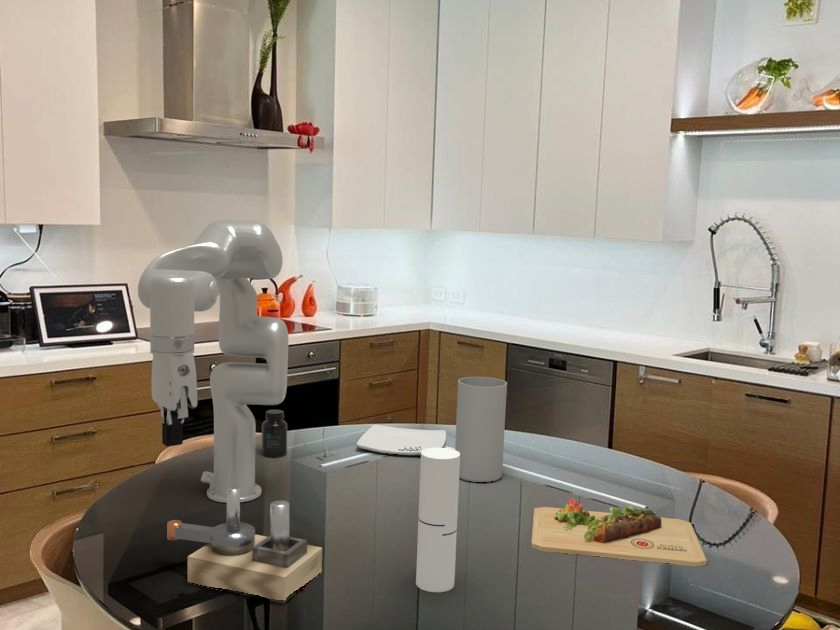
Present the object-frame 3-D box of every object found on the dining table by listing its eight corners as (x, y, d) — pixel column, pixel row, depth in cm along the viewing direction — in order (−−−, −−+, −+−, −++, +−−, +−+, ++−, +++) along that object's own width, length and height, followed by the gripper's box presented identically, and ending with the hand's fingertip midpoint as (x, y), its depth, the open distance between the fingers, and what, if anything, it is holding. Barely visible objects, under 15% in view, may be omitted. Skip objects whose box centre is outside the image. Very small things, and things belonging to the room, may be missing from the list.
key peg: (282, 561, 152) (282, 508, 151) (266, 558, 154) (266, 505, 152) (293, 554, 155) (292, 502, 154) (277, 551, 157) (277, 499, 155)
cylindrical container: (414, 575, 160) (419, 447, 157) (451, 575, 161) (457, 447, 158) (417, 592, 153) (422, 458, 150) (456, 592, 154) (462, 459, 151)
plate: (351, 454, 236) (351, 445, 236) (371, 431, 260) (371, 423, 260) (437, 462, 232) (438, 452, 232) (450, 438, 256) (450, 429, 255)
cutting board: (530, 553, 174) (532, 518, 173) (533, 513, 197) (535, 482, 196) (707, 571, 169) (710, 535, 168) (689, 527, 192) (691, 495, 191)
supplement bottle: (266, 449, 236) (266, 407, 234) (289, 451, 235) (290, 409, 234) (258, 456, 229) (258, 413, 228) (282, 458, 228) (283, 415, 227)
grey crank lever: (178, 529, 164) (178, 474, 163) (261, 540, 161) (262, 484, 159) (157, 544, 157) (156, 487, 155) (243, 556, 153) (244, 498, 152)
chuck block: (187, 582, 154) (187, 543, 153) (230, 553, 167) (231, 517, 166) (284, 604, 147) (285, 563, 146) (321, 572, 160) (322, 534, 159)
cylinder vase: (446, 470, 224) (450, 378, 220) (488, 466, 229) (492, 375, 225) (467, 485, 212) (471, 388, 209) (510, 481, 217) (515, 385, 214)
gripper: (210, 349, 147) (210, 451, 149) (175, 336, 158) (175, 432, 161) (169, 352, 142) (169, 458, 145) (135, 339, 154) (136, 437, 156)
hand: (172, 444), depth 153 cm, fingers closed
